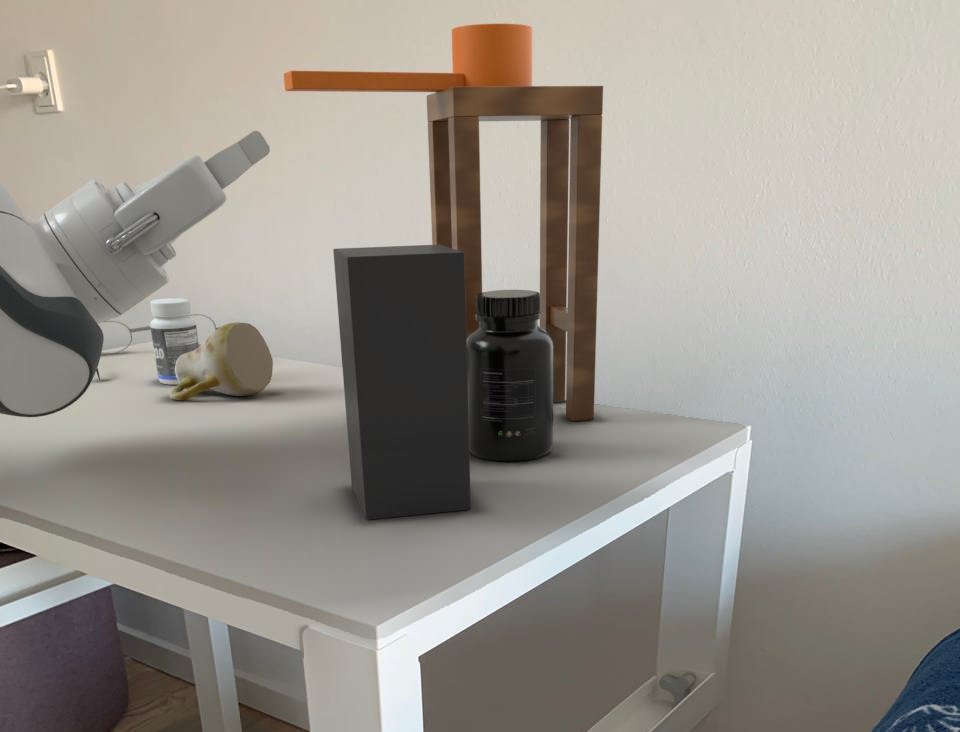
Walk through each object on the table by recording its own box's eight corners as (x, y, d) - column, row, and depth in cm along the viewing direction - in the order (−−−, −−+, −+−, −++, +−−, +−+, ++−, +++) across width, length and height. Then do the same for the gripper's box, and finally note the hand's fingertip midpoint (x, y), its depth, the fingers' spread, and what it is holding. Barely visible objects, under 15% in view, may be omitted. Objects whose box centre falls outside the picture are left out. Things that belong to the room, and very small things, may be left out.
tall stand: (462, 430, 86) (452, 86, 75) (438, 406, 95) (426, 95, 84) (594, 419, 89) (603, 85, 78) (558, 397, 98) (562, 94, 86)
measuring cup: (300, 86, 72) (294, 15, 70) (277, 93, 78) (271, 26, 76) (546, 89, 80) (546, 24, 78) (509, 94, 85) (509, 34, 83)
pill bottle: (156, 379, 110) (143, 299, 107) (199, 375, 112) (188, 296, 108) (161, 386, 106) (149, 304, 103) (206, 382, 108) (195, 301, 104)
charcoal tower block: (366, 520, 65) (347, 256, 58) (351, 489, 71) (333, 248, 64) (471, 509, 66) (464, 252, 60) (448, 481, 73) (439, 244, 66)
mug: (197, 385, 108) (234, 301, 104) (258, 435, 105) (298, 350, 101) (145, 380, 101) (181, 289, 97) (208, 433, 98) (248, 342, 94)
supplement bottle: (469, 441, 83) (465, 288, 78) (551, 439, 83) (553, 286, 77) (465, 463, 77) (460, 299, 72) (554, 462, 76) (556, 297, 71)
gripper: (72, 210, 68) (240, 92, 67) (99, 202, 86) (232, 109, 85) (135, 293, 71) (296, 180, 70) (148, 268, 89) (277, 178, 88)
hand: (261, 141), depth 78 cm, fingers open, 8 cm apart
